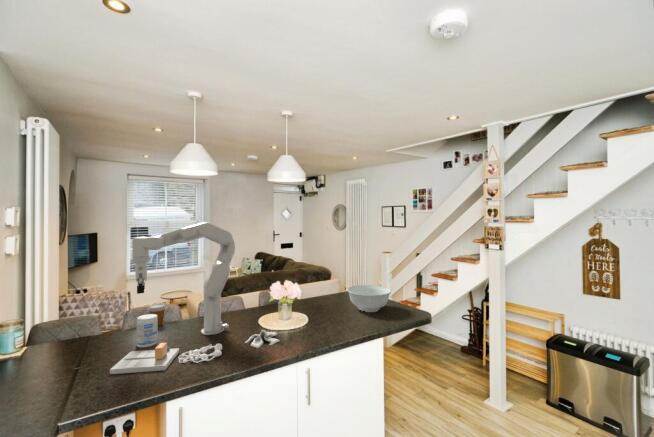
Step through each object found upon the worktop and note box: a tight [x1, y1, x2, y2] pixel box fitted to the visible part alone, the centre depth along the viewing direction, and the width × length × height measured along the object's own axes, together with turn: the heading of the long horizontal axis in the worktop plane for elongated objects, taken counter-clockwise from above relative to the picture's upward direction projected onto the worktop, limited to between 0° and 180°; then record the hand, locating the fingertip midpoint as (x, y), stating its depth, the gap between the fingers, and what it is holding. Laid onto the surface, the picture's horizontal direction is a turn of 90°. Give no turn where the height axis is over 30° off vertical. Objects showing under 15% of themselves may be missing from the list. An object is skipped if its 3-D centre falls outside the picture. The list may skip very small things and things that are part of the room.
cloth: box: [244, 329, 280, 349], centre depth 163 cm, size 22×19×6 cm
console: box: [109, 346, 180, 375], centre depth 138 cm, size 22×18×4 cm
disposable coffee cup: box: [147, 303, 166, 327], centre depth 188 cm, size 10×10×12 cm
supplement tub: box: [136, 313, 159, 348], centre depth 158 cm, size 10×10×15 cm
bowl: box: [346, 284, 392, 313], centre depth 220 cm, size 32×32×15 cm
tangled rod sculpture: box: [177, 343, 223, 364], centre depth 143 cm, size 19×14×4 cm
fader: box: [154, 342, 168, 359], centre depth 139 cm, size 3×6×5 cm, turn 9°
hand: (140, 291), depth 162 cm, fingers open, 9 cm apart
